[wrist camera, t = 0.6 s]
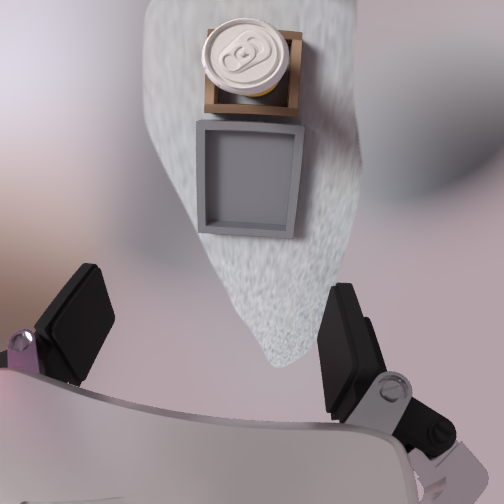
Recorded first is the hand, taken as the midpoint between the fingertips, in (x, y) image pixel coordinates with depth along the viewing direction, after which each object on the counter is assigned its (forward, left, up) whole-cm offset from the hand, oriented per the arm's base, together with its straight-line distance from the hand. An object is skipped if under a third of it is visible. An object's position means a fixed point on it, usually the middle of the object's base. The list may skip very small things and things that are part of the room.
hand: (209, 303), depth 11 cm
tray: (+2, 0, -26) cm, 26 cm away
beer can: (-11, 0, -27) cm, 29 cm away
